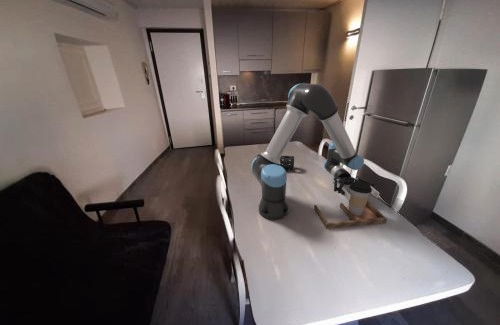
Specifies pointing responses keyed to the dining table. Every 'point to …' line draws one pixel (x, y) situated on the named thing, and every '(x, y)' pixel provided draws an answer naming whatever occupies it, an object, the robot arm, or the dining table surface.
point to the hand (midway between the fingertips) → (363, 196)
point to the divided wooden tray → (354, 217)
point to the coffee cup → (358, 197)
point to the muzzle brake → (285, 161)
